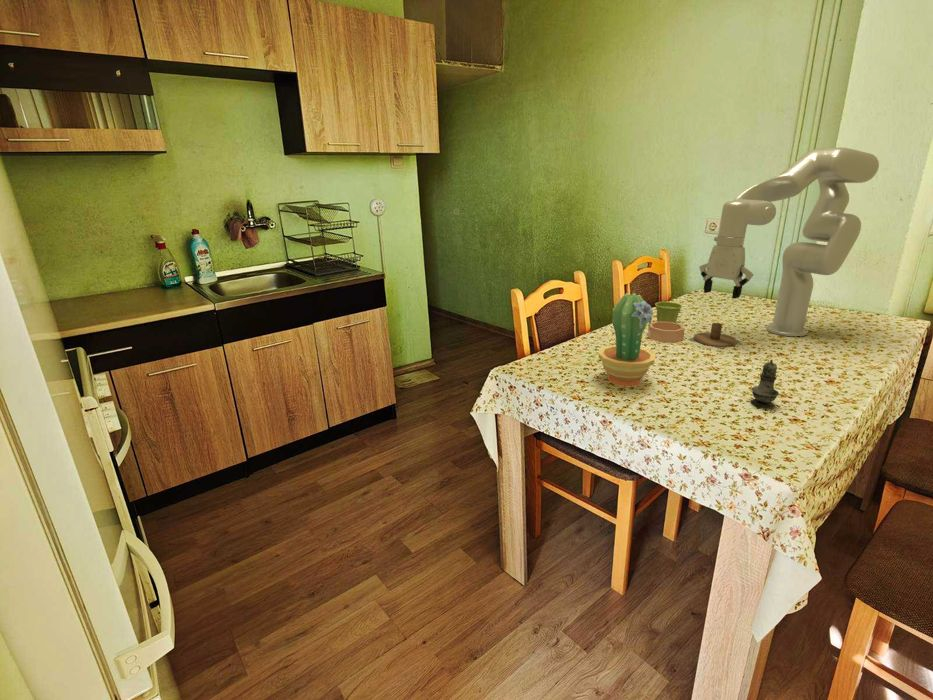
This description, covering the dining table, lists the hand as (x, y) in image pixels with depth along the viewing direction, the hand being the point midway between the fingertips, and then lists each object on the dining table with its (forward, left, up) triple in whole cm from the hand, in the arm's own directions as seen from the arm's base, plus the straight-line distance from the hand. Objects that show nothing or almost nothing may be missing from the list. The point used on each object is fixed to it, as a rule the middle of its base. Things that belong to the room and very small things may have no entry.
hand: (721, 295), depth 158 cm
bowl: (+10, -12, -17) cm, 23 cm away
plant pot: (-3, -21, -17) cm, 27 cm away
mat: (0, 0, -17) cm, 17 cm away
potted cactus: (+49, +3, -17) cm, 52 cm away
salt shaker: (+33, +33, -17) cm, 50 cm away
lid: (0, 0, -16) cm, 16 cm away
